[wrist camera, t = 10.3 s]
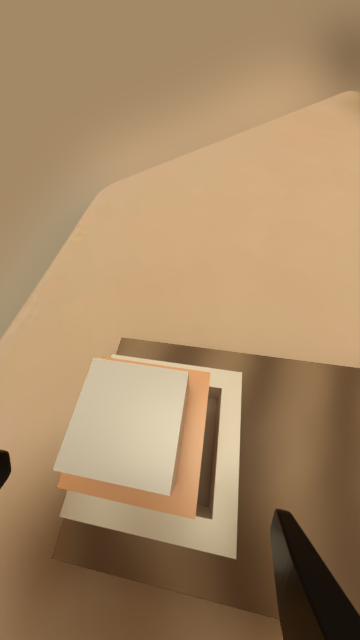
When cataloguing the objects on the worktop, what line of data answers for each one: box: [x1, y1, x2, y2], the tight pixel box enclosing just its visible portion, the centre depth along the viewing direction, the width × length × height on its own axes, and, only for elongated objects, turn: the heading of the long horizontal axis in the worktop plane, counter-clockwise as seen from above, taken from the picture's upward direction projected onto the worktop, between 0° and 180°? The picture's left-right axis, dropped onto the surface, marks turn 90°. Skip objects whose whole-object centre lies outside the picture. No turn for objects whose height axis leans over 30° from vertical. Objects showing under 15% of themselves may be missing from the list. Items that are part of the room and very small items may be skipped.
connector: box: [53, 357, 211, 519], centre depth 11 cm, size 4×4×11 cm
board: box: [52, 338, 360, 619], centre depth 16 cm, size 22×14×1 cm, turn 81°
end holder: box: [59, 354, 242, 559], centre depth 15 cm, size 9×9×3 cm
